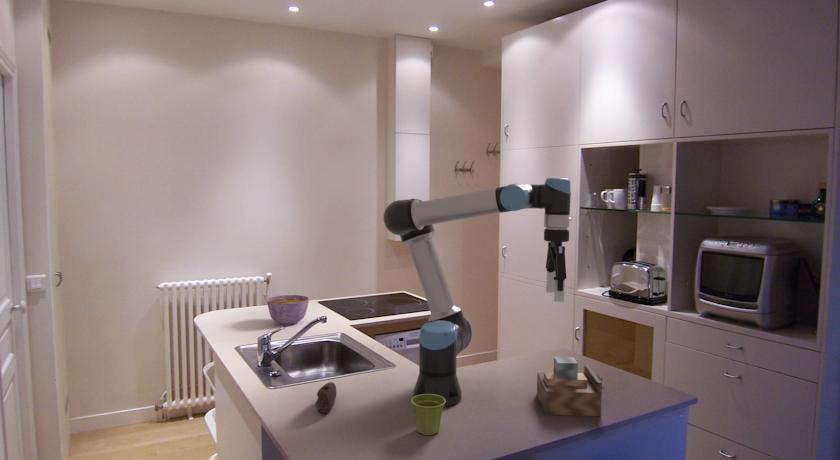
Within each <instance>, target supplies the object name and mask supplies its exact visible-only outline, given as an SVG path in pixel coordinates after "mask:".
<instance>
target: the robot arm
mask: <svg viewBox="0 0 840 460" xmlns="http://www.w3.org/2000/svg"><path fill="white" fill-rule="evenodd" d="M571 194H572V193H571V181H570V179H569V178H567V177H565V178H564V177H563V178H562V177H555V178H554V177H551V178H550V177H547V178H546V179H545V182H544V183H543V184H532V183H511V184H508V185H504V186H500V187H495V188H493V187H492V188H488V189H482V190H477V191H476V190H475V191H472V192H466V193H461V194H456V195H451V196H446V197H440V198H435V199H429V200H421V199H418V198H410V199H399V200H394V201H393V202H391V203H389V205H388V206H387V207H385V210H384V212H383V222H384V223H383V224H384V225H385V228H386V229H387V230H388V231H389V233H391V234H393V235H395V236H399V237H400V240H401V242H402V244H403V245H405V246H407V247H408V249H409V252H410V256H411V258H412V262H413V264H414V266H415V270H416V273H417V277H418V279H419V282H420V285H421V288H422V290H423V294H424V296H425V297H424V298H425V300H426V303H427V305H428V308H429V311H430V315H429V317H428V322H425V323H424V324H423V325H422V326H421V327H420V330H419V337H418V342H419V343H418V344H419V348H418V349H419V351H418V352H419V353H418V355H419V360H418V361H419V362H418V364H419V369H418V370H419V371H418V372H419V373H418V376H417V380H416V382H415V385H414V389H413V397H414V396H417V395H420V394H435V395H439V396H442V397H444V398H445V400H446V403H445V404H444V407H443V408H447V407H451V406H455V405H457V404H459V403H460V402H461V401H462V395H463V394H462V389H461V386H460V382H459V379H458V376H457V356H458V355H459V354H460V353H462V351H464V350H465V349H467V348H468V346H469V345H470V343H471V341H472V339H473V332H474V331H473V326H472V324H471V322H470V320H469V319H468V318H467V317H465V315H464V314H463V311H462V308H461V307H458V306H456V304H455V301H454V298H453V296H452V292H451V289H450V286H449V284H448V281H447V277H446V274H445V271H444V269H443V266H442V263H441V259H440V257H439V254H438V252H437V251H438V250H437V248H436V246H435V241H434V240H433V237H434V235H435V234H436V231H435V228H434V226H433V225H437V224H442V223H449V222H455V221H459V220H461V221H462V220H466V219H473V218H478V217H484V216H490V215H496V214H501V213H508V212H518V211H521V210H525V209H538V210H539V209H540V210H542V209H544V216H543V217H544V218H543V220H544V221H543V227H545V228H544V230H543V240H544V241H545V242H547V254H546V261H545V269H546V289H545V290H546V293H554V294H553V295H554V296H553V297H554V299H553V300H554V302H565V280H567V277H568V276H567V269H566V254H565V253H566V252H565V251H566V247H565V246H563V243H567V242H569V240H570V230H569V229H568V228H570V222H571V221H572V218H571V217H570V216H571V213H570V212H571Z"/></svg>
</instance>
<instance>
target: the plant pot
mask: <svg viewBox="0 0 840 460" xmlns="http://www.w3.org/2000/svg"><path fill="white" fill-rule="evenodd" d="M410 402H411V404H412V407H413V409H414V410H413V411H414V417H415V425H416V431H417V433H418V434H422V435H423V436H433V435H436V434H438V433H440V428H441V421H442V415H443V410H444V408H445V407H444V404H445V403H446V400H445V398H444V397H442V396H439V395H435V394H420V395H417V396H414V395H413V397H411V399H410Z"/></svg>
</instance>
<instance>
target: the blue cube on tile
mask: <svg viewBox="0 0 840 460" xmlns="http://www.w3.org/2000/svg"><path fill="white" fill-rule="evenodd" d="M578 367H579V363H578V362H577V360H576V359H575V357H573V356H553V371H543V373H544V380H545V382H546V384H547V385H556V386H587V382H588V380H587V378H586V377H585V376H584V374H583V372H579V368H578Z"/></svg>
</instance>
